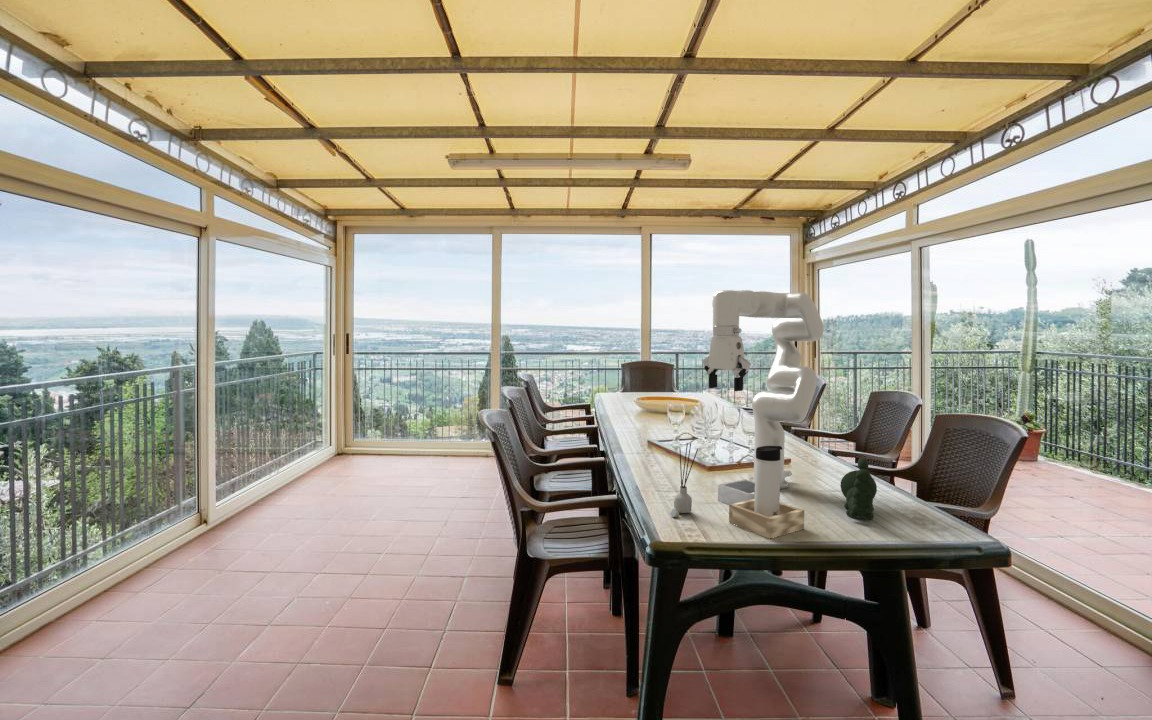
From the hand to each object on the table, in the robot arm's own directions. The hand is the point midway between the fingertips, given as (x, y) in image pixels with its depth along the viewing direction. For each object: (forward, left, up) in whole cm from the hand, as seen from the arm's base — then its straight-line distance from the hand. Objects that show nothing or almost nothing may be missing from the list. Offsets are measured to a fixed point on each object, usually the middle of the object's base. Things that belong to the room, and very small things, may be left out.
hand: (725, 389), depth 164 cm
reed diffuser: (+18, +2, -35) cm, 39 cm away
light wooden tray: (+6, +20, -34) cm, 40 cm away
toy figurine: (-25, +27, -35) cm, 51 cm away
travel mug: (+5, +21, -33) cm, 39 cm away
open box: (-5, +4, -34) cm, 35 cm away
